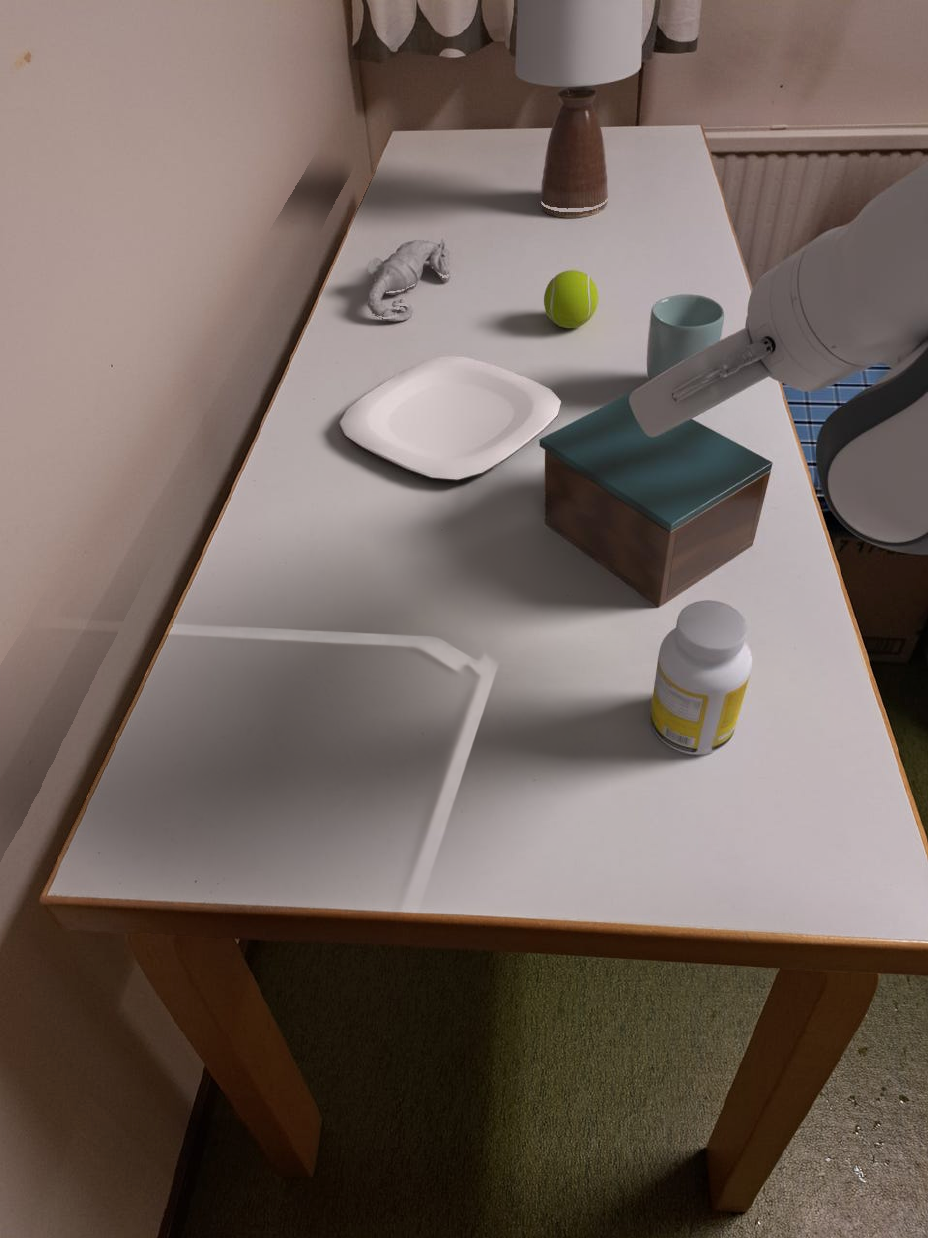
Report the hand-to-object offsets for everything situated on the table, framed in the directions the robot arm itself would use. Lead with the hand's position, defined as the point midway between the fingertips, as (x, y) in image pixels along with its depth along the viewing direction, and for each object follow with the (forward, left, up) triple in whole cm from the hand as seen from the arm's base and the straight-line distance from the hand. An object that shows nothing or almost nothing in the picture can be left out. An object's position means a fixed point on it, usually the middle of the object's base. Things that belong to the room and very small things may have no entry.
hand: (687, 393), depth 68 cm
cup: (+5, -27, -17) cm, 32 cm away
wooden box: (+2, -1, -17) cm, 17 cm away
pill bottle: (-7, +20, -17) cm, 27 cm away
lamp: (+34, -78, -17) cm, 87 cm away
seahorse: (+47, -42, -17) cm, 66 cm away
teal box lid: (+3, -1, -8) cm, 8 cm away
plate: (+28, -13, -17) cm, 35 cm away
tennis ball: (+22, -39, -17) cm, 48 cm away
